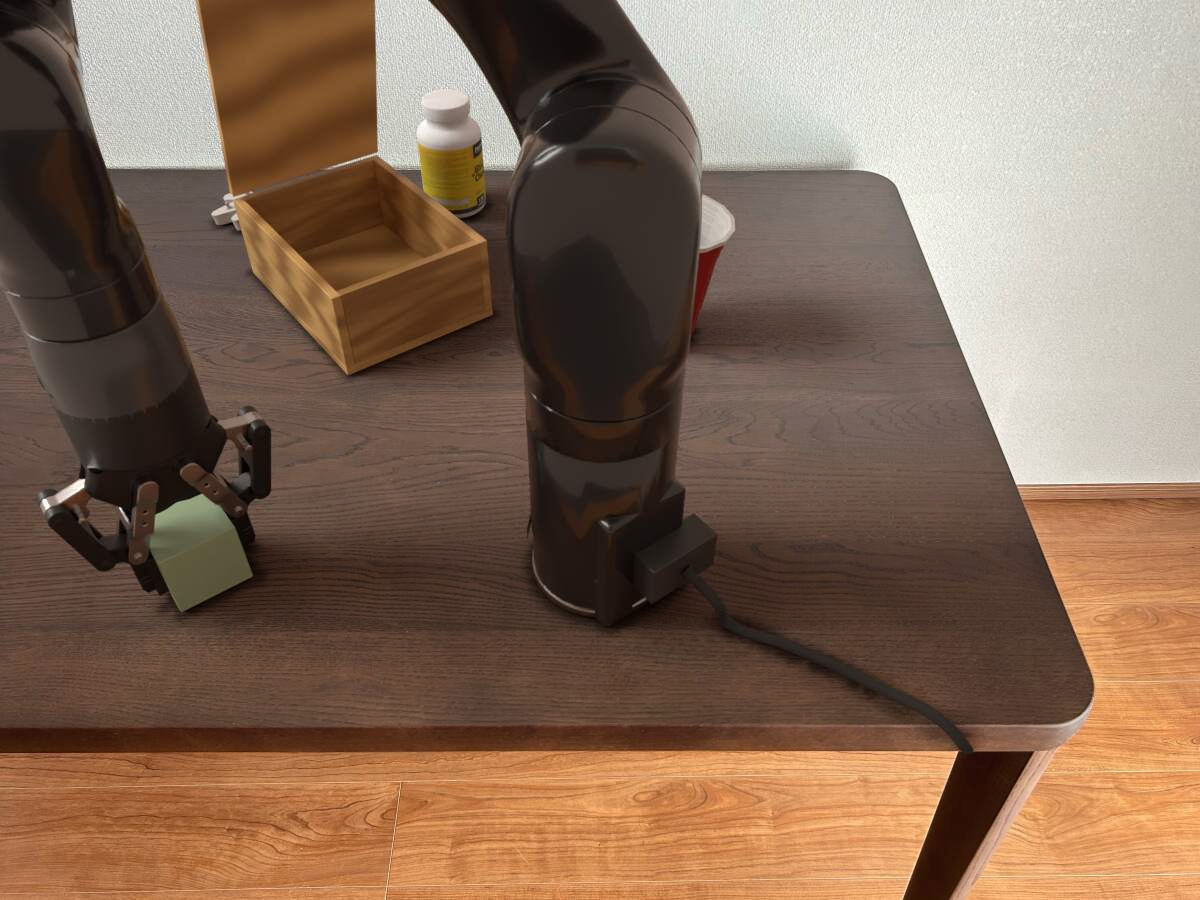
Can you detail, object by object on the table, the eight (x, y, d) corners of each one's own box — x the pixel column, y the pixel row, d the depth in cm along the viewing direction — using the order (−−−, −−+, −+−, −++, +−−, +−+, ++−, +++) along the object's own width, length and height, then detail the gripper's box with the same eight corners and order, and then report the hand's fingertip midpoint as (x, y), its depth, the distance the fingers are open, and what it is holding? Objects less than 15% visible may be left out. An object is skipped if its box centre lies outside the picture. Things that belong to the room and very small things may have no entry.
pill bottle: (476, 224, 100) (467, 116, 92) (416, 217, 101) (402, 109, 93) (494, 194, 104) (486, 88, 96) (436, 187, 105) (424, 82, 97)
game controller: (205, 217, 100) (198, 194, 98) (302, 181, 106) (298, 159, 104) (232, 238, 97) (225, 215, 96) (331, 200, 103) (326, 177, 101)
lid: (374, -56, 77) (369, -61, 77) (195, -20, 70) (190, -26, 71) (378, 152, 94) (374, 147, 94) (233, 197, 87) (229, 192, 87)
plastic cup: (746, 346, 86) (764, 226, 77) (641, 383, 82) (648, 261, 73) (679, 285, 92) (689, 168, 84) (579, 317, 88) (579, 198, 80)
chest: (493, 314, 88) (487, 240, 83) (348, 375, 82) (331, 298, 76) (387, 225, 100) (376, 154, 94) (252, 272, 93) (232, 199, 88)
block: (253, 576, 66) (235, 527, 62) (181, 612, 64) (158, 563, 60) (224, 532, 69) (205, 483, 65) (154, 566, 66) (130, 516, 63)
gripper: (-1, 461, 49) (113, 657, 60) (267, 355, 55) (323, 550, 67) (-37, 386, 53) (75, 582, 65) (216, 295, 59) (277, 488, 71)
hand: (201, 565), depth 66 cm, fingers closed on block, 5 cm apart
